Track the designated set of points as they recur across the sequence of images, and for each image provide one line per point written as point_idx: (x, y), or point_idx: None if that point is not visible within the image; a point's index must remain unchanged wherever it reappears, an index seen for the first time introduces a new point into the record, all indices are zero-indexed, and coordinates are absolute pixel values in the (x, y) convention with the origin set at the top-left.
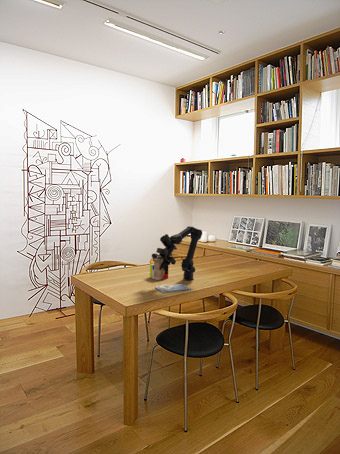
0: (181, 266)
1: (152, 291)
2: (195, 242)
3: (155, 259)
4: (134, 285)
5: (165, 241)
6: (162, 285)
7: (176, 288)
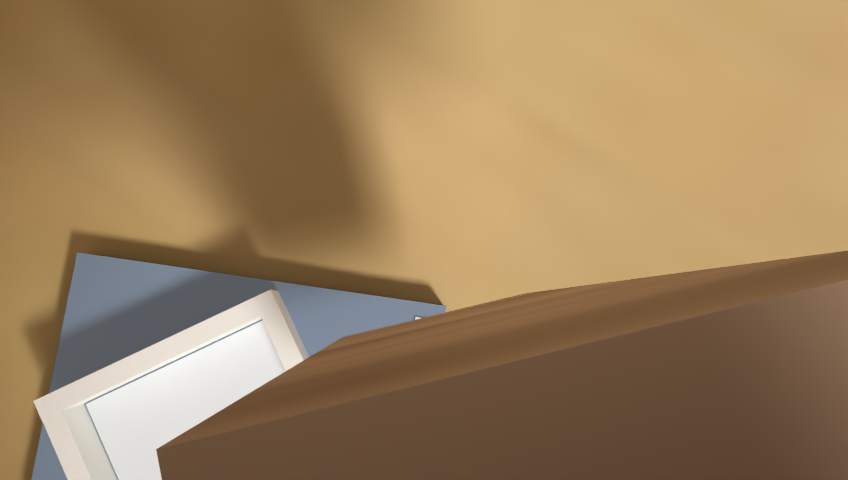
0: None
1: (285, 144)
2: None
3: (846, 277)
4: (806, 71)
5: None
6: None
7: None
